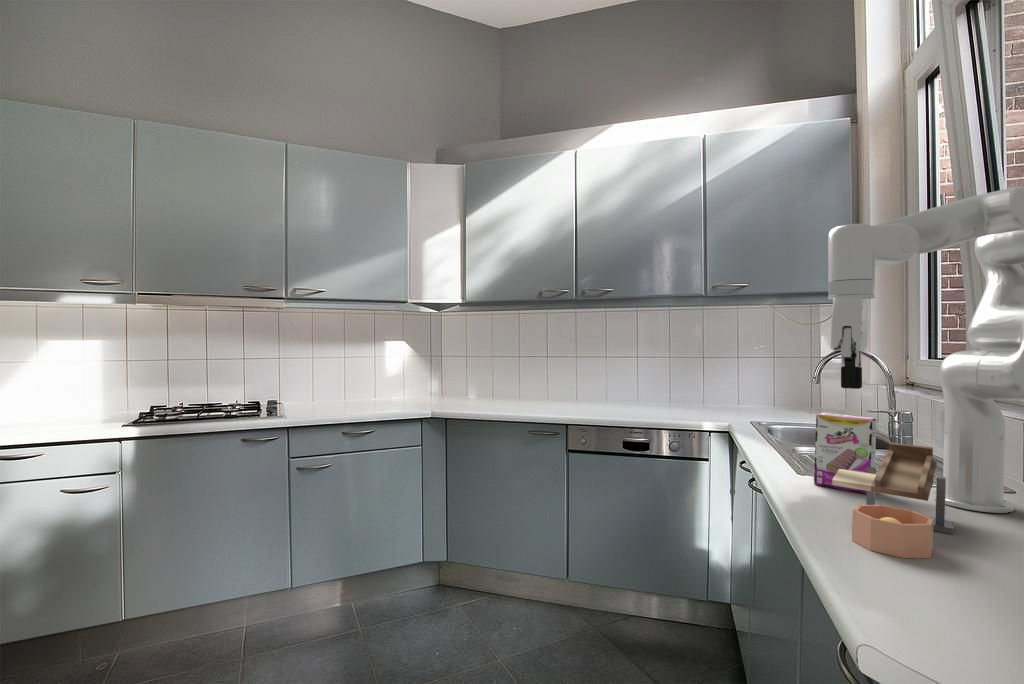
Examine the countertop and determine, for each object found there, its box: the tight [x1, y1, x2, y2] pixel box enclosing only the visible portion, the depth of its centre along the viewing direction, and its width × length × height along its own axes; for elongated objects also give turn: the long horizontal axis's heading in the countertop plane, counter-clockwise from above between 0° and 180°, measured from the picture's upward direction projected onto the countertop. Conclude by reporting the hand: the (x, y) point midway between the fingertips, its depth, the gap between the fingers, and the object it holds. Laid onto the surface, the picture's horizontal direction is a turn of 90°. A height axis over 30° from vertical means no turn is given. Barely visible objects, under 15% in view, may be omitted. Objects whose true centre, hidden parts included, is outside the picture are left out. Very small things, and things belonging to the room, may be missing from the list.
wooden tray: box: [832, 442, 938, 502], centre depth 102 cm, size 18×14×7 cm
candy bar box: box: [813, 412, 877, 495], centre depth 123 cm, size 11×5×16 cm, turn 47°
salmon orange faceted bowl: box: [851, 504, 934, 559], centre depth 88 cm, size 10×10×5 cm
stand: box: [865, 466, 955, 535], centre depth 100 cm, size 5×14×9 cm, turn 49°
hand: (851, 387), depth 103 cm, fingers closed
